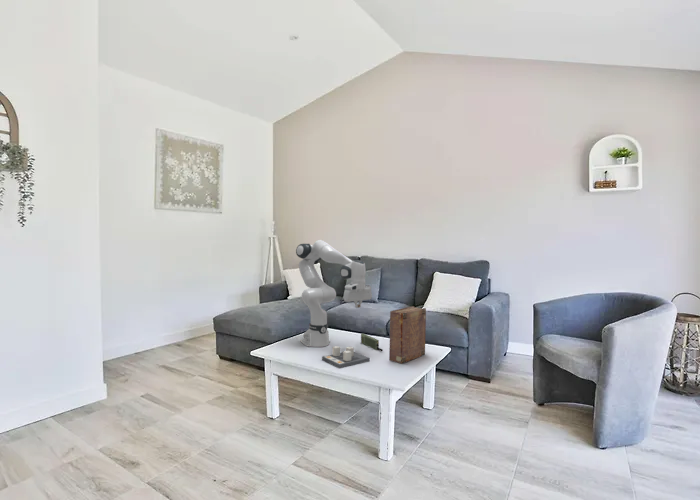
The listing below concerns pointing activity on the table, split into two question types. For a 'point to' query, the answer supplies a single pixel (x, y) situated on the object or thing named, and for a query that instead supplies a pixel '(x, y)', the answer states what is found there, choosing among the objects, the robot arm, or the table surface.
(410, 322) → the book
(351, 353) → the tab middle
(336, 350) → the tab inner
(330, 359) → the switch panel
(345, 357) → the block
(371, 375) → the table surface
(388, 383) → the table surface
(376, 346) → the handheld radio
